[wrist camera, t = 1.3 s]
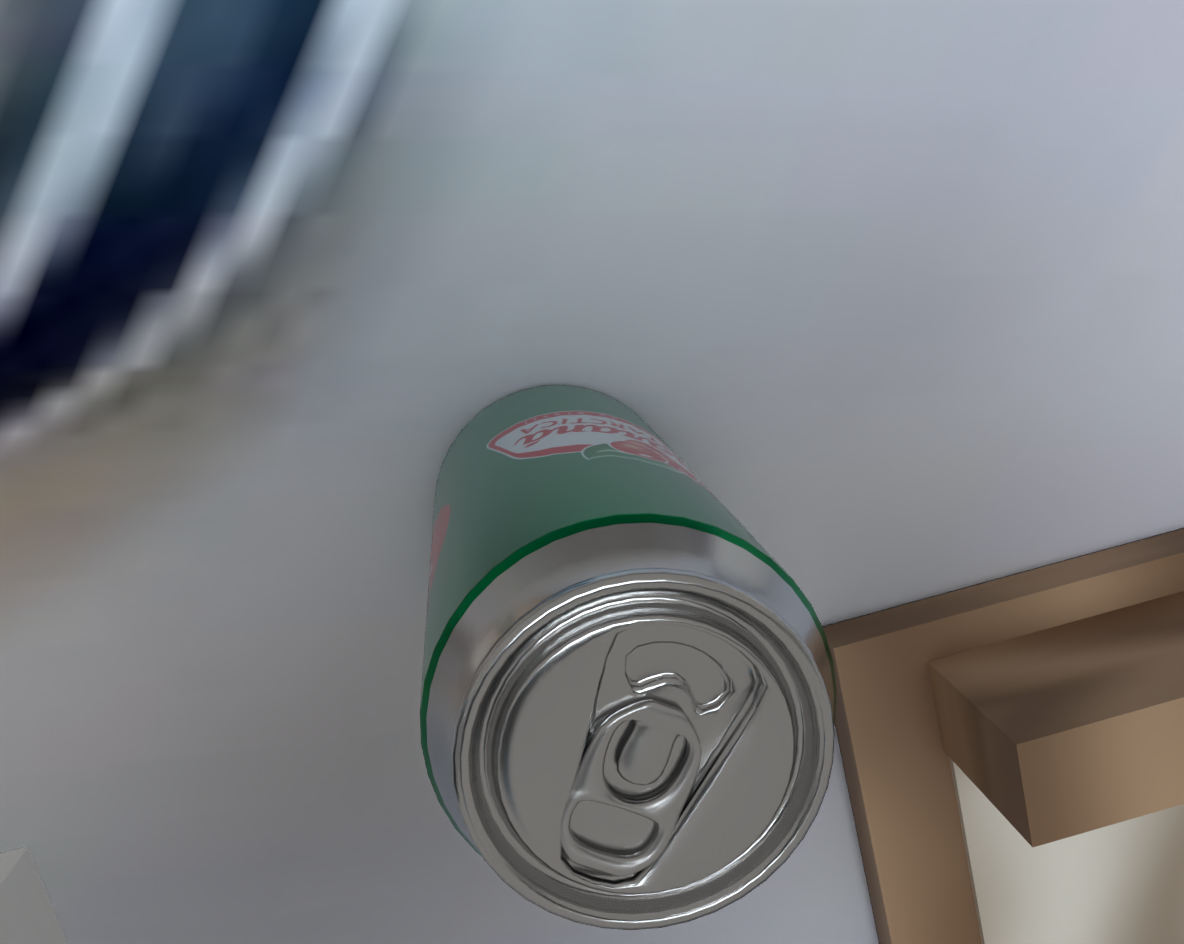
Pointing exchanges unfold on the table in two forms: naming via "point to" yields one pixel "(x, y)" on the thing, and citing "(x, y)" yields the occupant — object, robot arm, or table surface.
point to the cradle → (1023, 754)
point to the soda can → (614, 670)
